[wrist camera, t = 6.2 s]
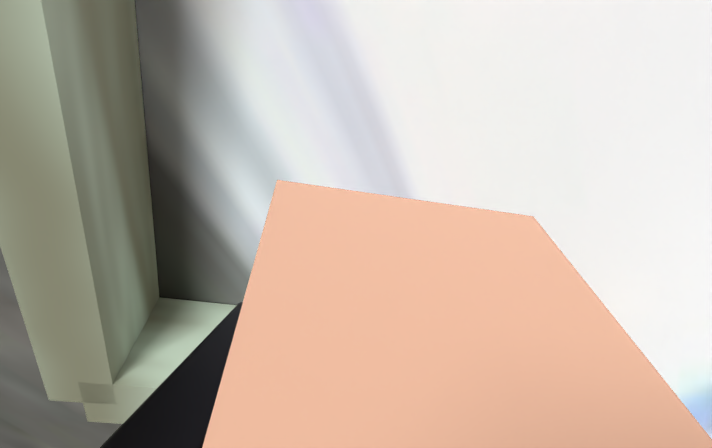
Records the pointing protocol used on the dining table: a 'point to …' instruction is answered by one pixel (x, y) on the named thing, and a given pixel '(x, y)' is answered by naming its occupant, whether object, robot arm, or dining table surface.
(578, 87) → the dining table surface
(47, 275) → the arena
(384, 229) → the cube
